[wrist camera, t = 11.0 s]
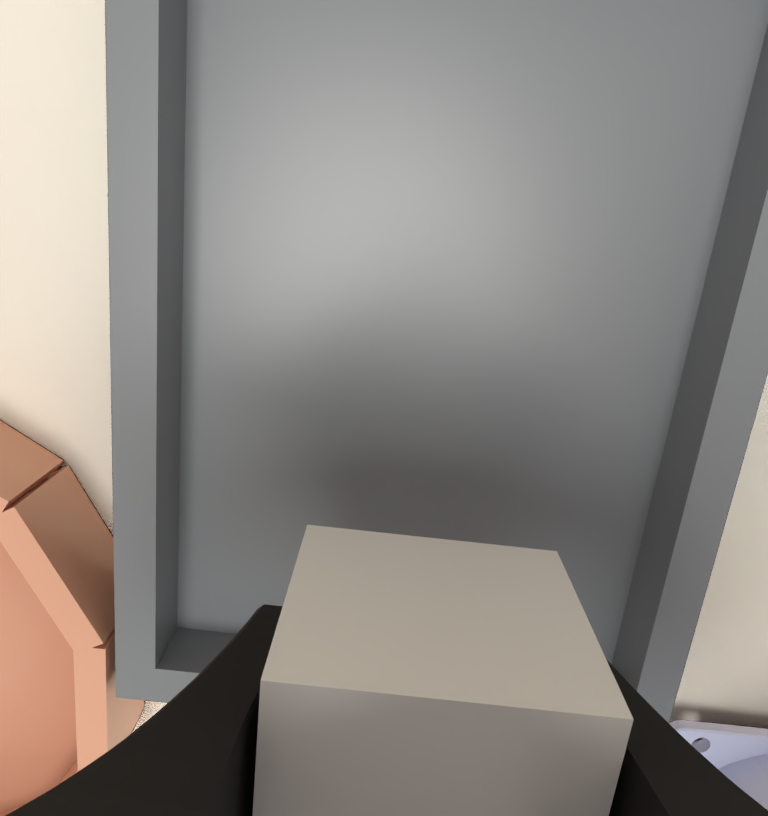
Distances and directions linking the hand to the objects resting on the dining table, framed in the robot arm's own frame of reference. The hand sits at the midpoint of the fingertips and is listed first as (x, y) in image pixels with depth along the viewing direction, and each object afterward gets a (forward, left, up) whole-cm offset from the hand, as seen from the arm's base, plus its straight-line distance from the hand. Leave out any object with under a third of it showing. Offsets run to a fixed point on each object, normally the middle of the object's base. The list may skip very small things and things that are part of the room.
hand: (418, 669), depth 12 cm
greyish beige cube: (0, 0, -1) cm, 1 cm away
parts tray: (0, -5, -7) cm, 8 cm away
